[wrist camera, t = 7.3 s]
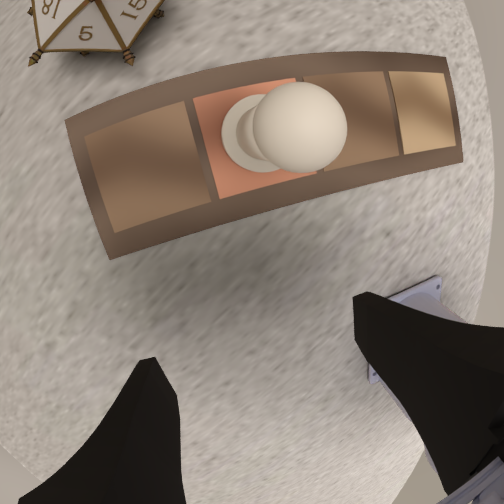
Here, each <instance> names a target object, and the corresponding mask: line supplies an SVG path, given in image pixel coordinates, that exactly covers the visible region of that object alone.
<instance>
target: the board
mask: <svg viewBox="0 0 504 504" xmlns="http://www.w3.org/2000/svg"><path fill="white" fill-rule="evenodd" d="M290 82H306V83H311V84H314V85H317V86H319V87H321V88H323V89H325V90H326V91H328V92H329V93H330V94H331V95H333V97H334V98H335V99H336V100H337V101H338V103H339V104H340V105H341V107H342V109H343V111H344V114H345V117H346V121H347V137H346V141H345V144H344V146H343V148H342V150H341V152H340V154H339V155H338V156H337V157H336V159H335V160H334V161H332V162H331V163H330V164H329V165H327V166H326V167H324V168H322V169H320V170H317V171H314V172H309V173H294V172H289V171H286V170H283V169H281V168H280V169H278V170H275V171H272V172H264V173H261V172H254V171H250V170H247V169H245V168H243V167H241V166H239V165H238V164H236V163H235V162H234V161H233V160H232V159H231V158H230V157H229V156H228V154H227V153H226V151H225V149H224V147H223V144H222V139H221V128H222V123H223V120H224V118H225V116H226V114H227V113H228V111H229V110H230V109H231V108H232V107H233V106H234V105H235V104H236V103H237V102H239V101H240V100H242V99H243V98H246V97H248V96H251V95H257V94H267V93H268V92H270V91H271V90H272V89H274V88H276V87H278V86H280V85H283V84H286V83H290ZM65 124H66V128H67V132H68V136H69V140H70V144H71V148H72V152H73V155H74V159H75V162H76V166H77V169H78V173H79V176H80V179H81V183H82V186H83V189H84V192H85V195H86V198H87V201H88V204H89V207H90V210H91V213H92V215H93V218H94V221H95V224H96V226H97V229H98V232H99V234H100V237H101V240H102V242H103V245H104V247H105V250H106V252H107V255H108V257H109V260H112V259H115V258H118V257H121V256H124V255H127V254H130V253H133V252H136V251H139V250H142V249H145V248H148V247H151V246H154V245H157V244H161V243H164V242H167V241H170V240H173V239H176V238H180V237H183V236H186V235H189V234H192V233H196V232H199V231H202V230H205V229H209V228H212V227H215V226H219V225H222V224H225V223H229V222H232V221H235V220H239V219H242V218H246V217H249V216H253V215H256V214H260V213H263V212H267V211H270V210H274V209H277V208H281V207H284V206H288V205H292V204H295V203H299V202H302V201H306V200H310V199H313V198H317V197H321V196H325V195H328V194H332V193H336V192H340V191H344V190H348V189H351V188H355V187H359V186H363V185H367V184H371V183H375V182H379V181H383V180H387V179H391V178H396V177H400V176H404V175H408V174H412V173H417V172H421V171H425V170H430V169H434V168H438V167H443V166H447V165H452V164H457V163H461V162H463V152H462V142H461V133H460V126H459V119H458V112H457V106H456V101H455V95H454V90H453V85H452V81H451V76H450V72H449V68H448V64H447V60H446V57H440V56H432V55H423V54H412V53H398V52H369V51H354V52H325V53H310V54H299V55H289V56H281V57H273V58H266V59H259V60H253V61H247V62H242V63H236V64H231V65H226V66H221V67H217V68H212V69H208V70H204V71H199V72H195V73H192V74H188V75H184V76H180V77H177V78H173V79H170V80H166V81H163V82H160V83H157V84H154V85H150V86H147V87H144V88H141V89H139V90H136V91H133V92H130V93H127V94H125V95H122V96H119V97H117V98H114V99H112V100H109V101H107V102H104V103H102V104H99V105H97V106H94V107H92V108H90V109H88V110H85V111H83V112H81V113H79V114H76V115H74V116H72V117H70V118H68V119H66V120H65Z"/></svg>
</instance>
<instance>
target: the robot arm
mask: <svg viewBox="0 0 504 504" xmlns="http://www.w3.org/2000/svg"><path fill="white" fill-rule="evenodd" d="M441 286H442V278H441V277H440V276H435V277H433V278H431V279H429V280H427V281H425V282H423V283H421V284H419V285H416V286H414V287H412V288H410V289H408V290H406V291H403V292H401V293H399V294H397V295H394V296H392V297H390V298H388V299H387V298H384V297H382V296H379V295H376V294H374V293H371V292H364V293H362V294H359V295H356V296H354V297H353V312H354V335H355V341H356V343H357V345H358V346H359V348H360V350H361V352H362V353H363V355H364V357H365V358H366V360H367V361H368V362H369V378H368V381H369V382H370V384H374V383H376V382H378V381H380V382H381V384H382V385H383V386H384V388H385V389H386V390H387V392H388V393H389V394H390V396H391V397H392V398H393V400H394V401H395V402H396V404H397V405H398V406H399V408H400V409H401V410H402V412H403V413H404V414H405V416H406V417H407V418H408V419H409V420H410V421H411V422H413V424H414V425H415V427H416V429H417V431H418V433H419V435H420V436H421V438H422V440H423V442H424V447H425V454H426V457H427V459H428V461H429V463H430V465H431V466H432V468H433V469H434V470H435V471H436V473H437V474H438V475H439V477H440V480H441V482H442V485H443V488H444V490H445V492H446V493H447V495H448V496H447V497H446V498H444V499H443V500H441V501H440V502H438V503H437V504H468V503H469V502H470V501H472V500H473V499H474V498H475V499H474V500H473V502H472V504H504V328H503V327H489V326H480V325H473V324H468V323H467V322H466V321H464V320H463V319H462V318H460V317H459V316H458V315H457V314H455V313H454V312H453V311H451V310H450V309H449V308H447V307H446V306H445V305H443V304H442V303H441V302H440V297H441ZM18 504H186V500H185V494H184V489H183V483H182V474H181V443H180V414H179V407H178V400H177V394H176V393H175V391H174V389H173V388H172V386H171V384H170V383H169V381H168V379H167V377H166V376H165V374H164V372H163V370H162V369H161V367H160V365H159V363H158V361H157V359H156V358H155V357H152V358H148V359H143V360H139V362H138V363H137V365H136V367H135V368H134V370H133V372H132V373H131V375H130V377H129V378H128V380H127V382H126V383H125V385H124V387H123V388H122V390H121V392H120V393H119V395H118V397H117V398H116V400H115V402H114V403H113V405H112V406H111V408H110V409H109V411H108V412H107V414H106V415H105V417H104V418H103V420H102V421H101V423H100V424H99V425H98V427H97V428H96V430H95V431H94V432H93V433H92V435H91V436H90V437H89V438H88V440H87V441H86V442H85V443H84V445H83V446H82V447H81V448H80V449H79V450H78V451H77V452H76V453H75V454H74V455H73V456H72V457H71V458H70V459H69V460H68V461H67V462H66V464H65V465H63V466H62V467H61V468H60V469H59V470H58V471H57V472H56V473H55V474H53V475H52V476H51V477H50V478H48V479H47V480H46V481H45V482H43V483H42V484H41V485H39V486H38V487H37V488H35V489H33V490H32V491H30V492H29V493H27V494H26V495H24V496H23V497H21V498H20V499H19V501H18Z"/></svg>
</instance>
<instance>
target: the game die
mask: <svg viewBox="0 0 504 504" xmlns="http://www.w3.org/2000/svg"><path fill="white" fill-rule="evenodd" d="M31 1H32V7H30V9H29V11H28V12H27V13H28V14H30V15H31V16H32V15H33V19H34V26H35V33H36V39H37V45H38V50H37V51H36V52H35V53H33V55H32V56H31V57H29V58H30V60H29V65H28V67H29V66H31V65H33V64H35V63H38V62H37V61H38V60H39V59H41V55H42V54H43V53H47V52H70V51H81V52H80V54H82V55H83V56H86V55H87V54H89V51H97V52H121V53H123V55H124V57H123V59H125V62H126V63H128V64H130V65H132V66H133V63H134V58H135V56H133V54H134V53H132V52H131V51H130V47H131V46H132V44H133V43H134V41H135V40H136V38H137V37H138V36H139V34H140V33H141V31H142V30H143V28H144V27H145V26H146V24H147V23H148V22H149V20H150V19H151V17H152V16H153V15H154V16H155V17H157V18H160V17H164V13H163V12H164V11H161V10H158V8H159V7H160V6H161V4H162V3H163V2H164V0H31Z"/></svg>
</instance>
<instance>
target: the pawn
mask: <svg viewBox="0 0 504 504" xmlns="http://www.w3.org/2000/svg"><path fill="white" fill-rule="evenodd" d="M346 137H347V121H346V117H345V114H344V111H343V109H342V107H341V105H340V104H339V103H338V101H337V100H336V99H335V98H334V97H333V95H331V94H330V93H329V92H328V91H326V90H325V89H323V88H321V87H319V86H317V85H314V84H311V83H306V82H290V83H286V84H283V85H280V86H278V87H276V88H274V89H272V90H271V91H270V92H268V93H267V94H257V95H251V96H248V97H246V98H243V99H242V100H240V101H239V102H237V103H236V104H235V105H234V106H233V107H232V108H231V109H230V110H229V111H228V113H227V114H226V116H225V118H224V120H223V123H222V128H221V139H222V144H223V147H224V149H225V151H226V153H227V154H228V156H229V157H230V158H231V159H232V160H233V161H234V162H235V163H236V164H238V165H239V166H241V167H243V168H245V169H247V170H250V171H254V172H261V173H264V172H272V171H275V170H278V169H280V168H281V169H283V170H286V171H289V172H294V173H309V172H314V171H317V170H320V169H322V168H324V167H326V166H327V165H329V164H330V163H331V162H332V161H334V160H335V159H336V157H337V156H338V155H339V154H340V152H341V150H342V148H343V146H344V144H345V141H346Z"/></svg>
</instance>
